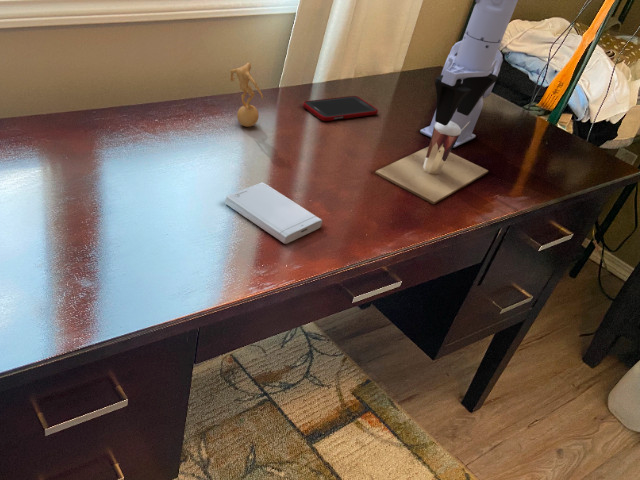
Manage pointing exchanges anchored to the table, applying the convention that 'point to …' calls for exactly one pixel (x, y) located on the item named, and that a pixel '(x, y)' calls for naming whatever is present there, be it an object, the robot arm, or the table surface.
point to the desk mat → (431, 175)
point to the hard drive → (273, 212)
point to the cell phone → (340, 108)
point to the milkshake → (441, 146)
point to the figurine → (247, 112)
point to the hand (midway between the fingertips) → (452, 118)
